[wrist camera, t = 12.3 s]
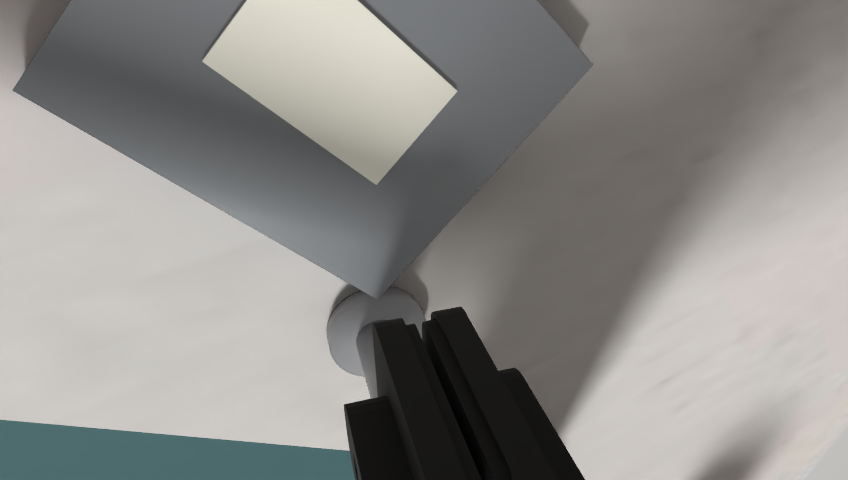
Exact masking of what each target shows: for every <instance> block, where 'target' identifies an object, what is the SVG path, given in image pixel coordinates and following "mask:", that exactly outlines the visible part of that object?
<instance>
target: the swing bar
mask: <svg viewBox="0 0 848 480" xmlns="http://www.w3.org/2000/svg"><path fill="white" fill-rule="evenodd" d="M0 480H355V476H354V471H353V466H352V460H351V454H350V451H344V450H333V449H322V448H310V447H299V446H288V445H277V444H266V443H254V442H243V441H232V440H221V439H209V438H198V437H187V436H176V435H165V434H153V433H142V432H131V431H120V430H108V429H97V428H86V427H75V426H63V425H52V424H41V423H30V422H19V421H7V420H0Z"/></svg>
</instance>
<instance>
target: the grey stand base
mask: <svg viewBox="0 0 848 480" xmlns="http://www.w3.org/2000/svg"><path fill="white" fill-rule="evenodd" d="M592 65H593V64H592V63H591V61H590V60H589V59H588V58H587V57H586V56H585V54H584V53H583V52H582V51H581V50H580V49H579V48H578V46H577V45H576V44H575V43H574V42H573V41H572V40H571V38H570V37H569V36H568V35H567V34H566V33H565V31H564V30H563V29H562V28H561V27H560V26H559V25H558V23H557V22H556V21H555V20H554V19H553V18H552V17H551V15H550V14H549V13H548V12H547V11H546V10H545V8H544V7H543V6H542V5H541V4H540V3H539V2H538V0H71V1H70V3H69V4H68V6H67V7H66V9H65V10H64V12H63V13H62V15H61V16H60V18H59V20H58V21H57V23H56V24H55V26H54V27H53V29H52V30H51V32H50V33H49V35H48V36H47V38H46V40H45V41H44V43H43V44H42V46H41V47H40V49H39V50H38V52H37V53H36V55H35V56H34V58H33V60H32V61H31V63H30V64H29V66H28V67H27V69H26V70H25V72H24V73H23V75H22V77H21V78H20V80H19V81H18V83H17V84H16V86H15V87H14V89H13V91H14V92H16V93H18V94H20V95H21V96H23V97H25V98H27V99H28V100H30V101H32V102H34V103H35V104H37V105H39V106H41V107H42V108H44V109H46V110H48V111H49V112H51V113H53V114H55V115H56V116H58V117H60V118H61V119H63V120H65V121H67V122H68V123H70V124H72V125H74V126H75V127H77V128H79V129H81V130H82V131H84V132H86V133H88V134H89V135H91V136H93V137H95V138H96V139H98V140H100V141H102V142H103V143H105V144H107V145H109V146H110V147H112V148H114V149H116V150H117V151H119V152H121V153H123V154H124V155H126V156H128V157H129V158H131V159H133V160H135V161H136V162H138V163H140V164H142V165H143V166H145V167H147V168H149V169H150V170H152V171H154V172H156V173H157V174H159V175H161V176H163V177H164V178H166V179H168V180H170V181H171V182H173V183H175V184H177V185H178V186H180V187H182V188H184V189H185V190H187V191H189V192H191V193H192V194H194V195H196V196H197V197H199V198H201V199H203V200H204V201H206V202H208V203H210V204H211V205H213V206H215V207H217V208H218V209H220V210H222V211H224V212H225V213H227V214H229V215H231V216H232V217H234V218H236V219H238V220H239V221H241V222H243V223H245V224H246V225H248V226H250V227H252V228H253V229H255V230H257V231H259V232H260V233H262V234H264V235H266V236H267V237H269V238H271V239H272V240H274V241H276V242H278V243H279V244H281V245H283V246H285V247H286V248H288V249H290V250H292V251H293V252H295V253H297V254H299V255H300V256H302V257H304V258H306V259H307V260H309V261H311V262H313V263H314V264H316V265H318V266H320V267H321V268H323V269H325V270H327V271H328V272H330V273H332V274H334V275H335V276H337V277H339V278H340V279H342V280H344V281H346V282H347V283H349V284H351V285H353V286H354V287H356V288H358V289H360V290H361V291H358V292H356V293H354V294H352V295H350V296H349V297H347V298H346V299H345V300H343V301H342V302H341V303H340V304H339V305H338V306H337V307H336V309H335V310H334V311H333V313H332V315H331V316H330V319H329V321H328V325H327V339H328V344H329V348H330V352H331V355H332V358H333V360H334V361H335V363H336V364H337V365H338V366H339V367H340V368H342V369H343V370H345V371H346V372H348V373H351V374H353V375H357V376H363V377H365V379H366V383H367V386H368V390H369V393H370V397H371V399H372V398H377V397H378V394H377V382H376V370H375V358H374V346H373V334H372V324H373V323H376V322H382V321H387V320H392V319H398V318H402V319H403V320H404V322H405V324H406V325H408V324H415V325H416V326H417V329H418V331H419V333H420V336H421V338H422V322H424V321H426V319H425V317H424V314H423V312H422V310H421V308H420V306H419V304H418V302H417V301H416V299H415V298H414V297H413V296H412V295H410V294H409V293H407V292H405V291H404V290H401V289H398V288H395V287H390V286H391V285H392V283H393V282H394V281H395V280H396V279H397V278H398V277H399V276H400V275H401V274H402V273H403V271H404V270H405V269H406V268H407V267H408V266H409V265H410V264H411V263H412V262H413V261H414V259H415V258H416V257H417V256H418V255H419V254H420V253H421V252H422V251H423V250H424V249H425V248H426V246H427V245H428V244H429V243H430V242H431V241H432V240H433V239H434V238H435V237H436V236H437V234H438V233H439V232H440V231H441V230H442V229H443V228H444V227H445V226H446V225H447V224H448V222H449V221H450V220H451V219H452V218H453V217H454V216H455V215H456V214H457V213H458V212H459V210H460V209H461V208H462V207H463V206H464V205H465V204H466V203H467V202H468V201H469V200H470V198H471V197H472V196H473V195H474V194H475V193H476V192H477V191H478V190H479V189H480V188H481V186H482V185H483V184H484V183H485V182H486V181H487V180H488V179H489V178H490V177H491V176H492V174H493V173H494V172H495V171H496V170H497V169H498V168H499V167H500V166H501V165H502V164H503V162H504V161H505V160H506V159H507V158H508V157H509V156H510V155H511V154H512V153H513V152H514V150H515V149H516V148H517V147H518V146H519V145H520V144H521V143H522V142H523V141H524V140H525V138H526V137H527V136H528V135H529V134H530V133H531V132H532V131H533V130H534V129H535V128H536V126H537V125H538V124H539V123H540V122H541V121H542V120H543V119H544V118H545V117H546V116H547V115H548V113H549V112H550V111H551V110H552V109H553V108H554V107H555V106H556V105H557V104H558V103H559V101H560V100H561V99H562V98H563V97H564V96H565V95H566V94H567V93H568V92H569V91H570V89H571V88H572V87H573V86H574V85H575V84H576V83H577V82H578V81H579V80H580V79H581V77H582V76H583V75H584V74H585V73H586V72H587V71H588V70H589V69H590V68H591V67H592Z"/></svg>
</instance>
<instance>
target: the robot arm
mask: <svg viewBox="0 0 848 480" xmlns="http://www.w3.org/2000/svg"><path fill="white" fill-rule="evenodd" d="M372 334H373V346H374V358H375V370H376V382H377V394H378V397H377V398H372V399H368V400H363V401H358V402H354V403H349V404H344V411H345V419H346V427H347V435H348V442H349V448H350V454H351V460H352V466H353V471H354V476H355V480H585V479H584V477H583V476H582V474H581V472H580V471H579V469H578V467H577V466H576V464H575V462H574V461H573V459H572V457H571V456H570V454H569V452H568V451H567V449H566V447H565V446H564V444H563V442H562V441H561V439H560V437H559V436H558V434H557V432H556V431H555V429H554V427H553V426H552V424H551V422H550V421H549V419H548V417H547V416H546V414H545V412H544V411H543V409H542V407H541V406H540V404H539V402H538V401H537V399H536V397H535V396H534V394H533V392H532V391H531V389H530V387H529V386H528V384H527V382H526V381H525V379H524V377H523V376H522V375H521V373H520V372H519V371H518V370H517V369H515V368H511V369H506V370H502V371H498V370H497V368H496V366H495V365H494V363H493V361H492V359H491V357H490V356H489V354H488V352H487V350H486V348H485V347H484V345H483V343H482V341H481V339H480V338H479V336H478V334H477V332H476V330H475V329H474V327H473V325H472V323H471V321H470V320H469V318H468V316H467V314H466V312H465V311H464V309H463V308H462V307H456V308H451V309H445V310H440V311H435V312H432V314H431V320H429V321H424V322H422V338H421V336H420V333H419V331H418V329H417V326H416V325H415V324H408V325H406V324H405V322H404V320H403V319H402V318H398V319H392V320H387V321H382V322H376V323H373V324H372Z"/></svg>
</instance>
